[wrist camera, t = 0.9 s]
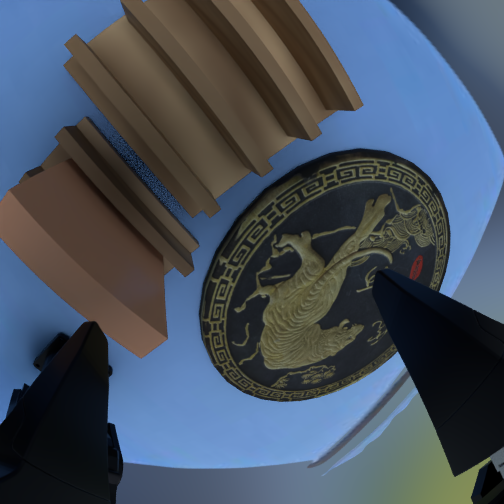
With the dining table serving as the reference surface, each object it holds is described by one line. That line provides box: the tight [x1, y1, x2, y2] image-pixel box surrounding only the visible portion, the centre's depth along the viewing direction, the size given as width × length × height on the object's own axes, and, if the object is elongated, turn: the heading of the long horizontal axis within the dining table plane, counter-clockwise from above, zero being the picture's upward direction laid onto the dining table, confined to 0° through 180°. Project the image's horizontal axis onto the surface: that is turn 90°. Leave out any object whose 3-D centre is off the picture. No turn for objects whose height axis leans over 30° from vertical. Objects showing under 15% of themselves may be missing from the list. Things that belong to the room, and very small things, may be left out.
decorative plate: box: [199, 149, 450, 402], centre depth 28 cm, size 30×2×30 cm
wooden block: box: [0, 158, 168, 359], centre depth 13 cm, size 2×9×9 cm, turn 35°
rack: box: [63, 0, 363, 218], centre depth 14 cm, size 14×14×4 cm
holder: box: [19, 117, 199, 277], centre depth 17 cm, size 6×12×3 cm, turn 35°
